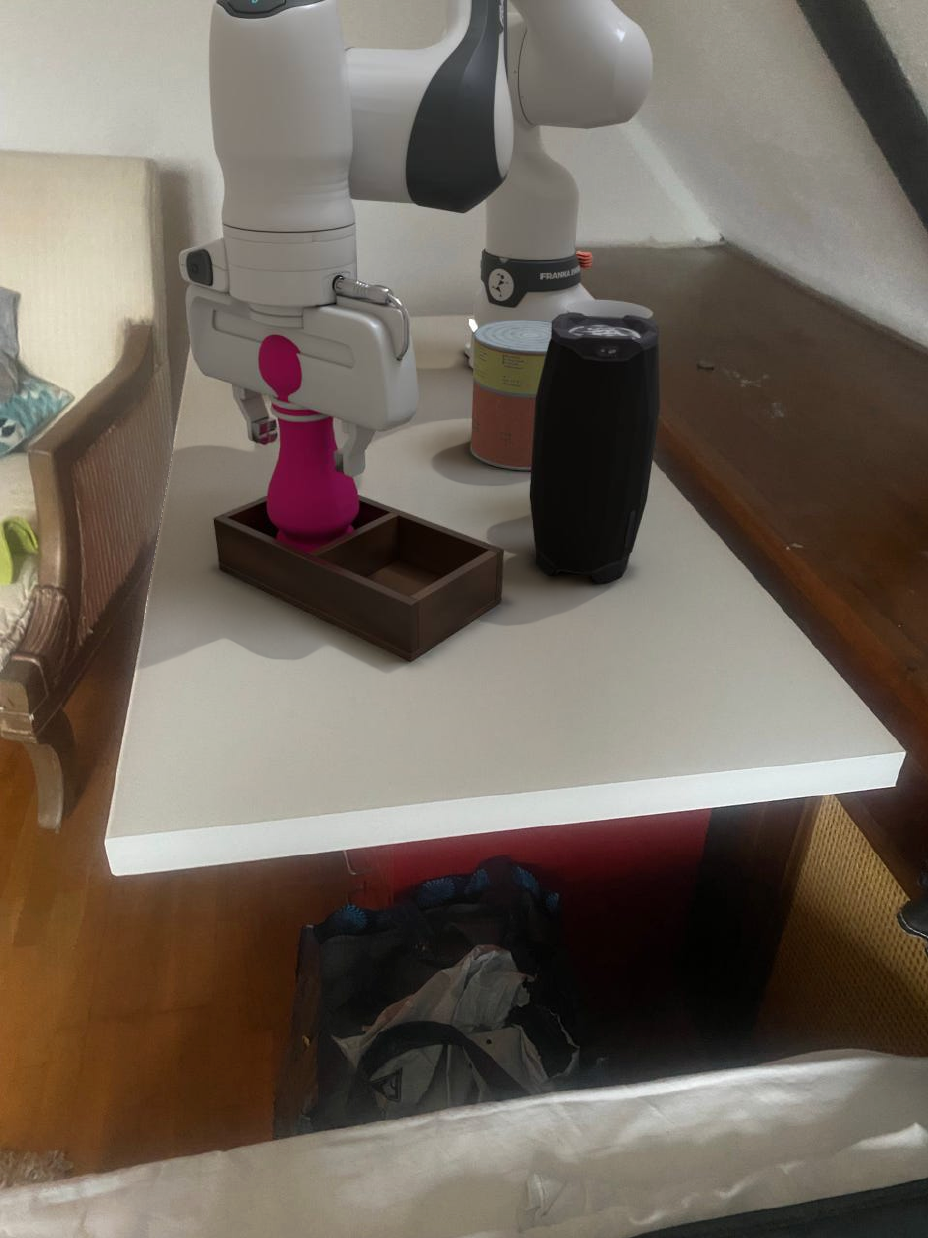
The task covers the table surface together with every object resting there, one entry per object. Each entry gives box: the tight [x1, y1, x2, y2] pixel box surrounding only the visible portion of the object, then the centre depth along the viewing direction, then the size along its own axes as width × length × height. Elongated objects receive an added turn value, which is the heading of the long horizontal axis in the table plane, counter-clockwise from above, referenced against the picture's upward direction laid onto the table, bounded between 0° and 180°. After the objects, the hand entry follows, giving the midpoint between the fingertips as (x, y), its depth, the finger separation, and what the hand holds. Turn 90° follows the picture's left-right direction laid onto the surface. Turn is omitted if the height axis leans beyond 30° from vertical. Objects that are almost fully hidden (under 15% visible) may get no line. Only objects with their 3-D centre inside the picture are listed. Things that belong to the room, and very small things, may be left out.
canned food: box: [469, 320, 552, 472], centre depth 97 cm, size 11×11×12 cm
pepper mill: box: [258, 334, 359, 553], centre depth 72 cm, size 7×7×20 cm
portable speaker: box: [528, 312, 661, 584], centre depth 74 cm, size 9×9×20 cm
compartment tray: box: [212, 494, 505, 662], centre depth 74 cm, size 11×20×5 cm, turn 52°
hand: (305, 456), depth 72 cm, fingers open, 8 cm apart
